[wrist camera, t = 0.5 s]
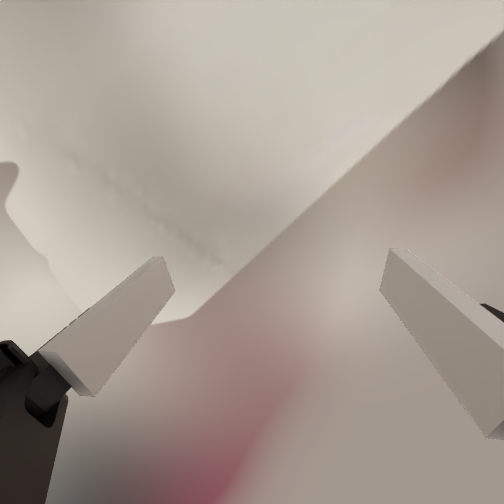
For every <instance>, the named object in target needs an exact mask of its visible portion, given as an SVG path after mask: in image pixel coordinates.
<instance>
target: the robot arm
mask: <svg viewBox="0 0 504 504" xmlns="http://www.w3.org/2000/svg"><path fill="white" fill-rule="evenodd" d="M174 292H175V288H174V285H173V283H172V280H171V277H170V274H169V272H168V269H167V266H166V263H165V261H164V258H163V257H152V258H151V259H149V260H148V261H147V262H146V263H145V264H143V265H142V266H141V267H140V268H138V269H137V270H136V271H135V272H134V273H132V274H131V275H130V276H129V277H127V278H126V279H125V280H124V281H123V282H121V283H120V284H119V285H118V286H116V287H115V288H114V289H113V290H112V291H110V292H109V293H108V294H107V295H105V296H104V297H103V298H102V299H101V300H99V301H98V302H97V303H96V304H94V305H93V306H92V307H91V308H89V309H87V310H86V311H85V312H84V313H82V314H81V315H80V316H79V317H78V318H77V319H75V320H74V321H73V322H71V323H70V324H69V326H67V327H65V328H64V329H63V330H62V331H60V333H58V334H57V335H55V336H54V337H53V338H52V339H51V340H49V341H48V342H47V343H46V344H44V345H43V346H42V347H41V348H40V349H38V350H37V351H36V352H35V353H33V354H32V355H31V356H29V357H28V356H27V355H26V354H25V353H24V352H23V351H22V350H21V349H20V348H19V347H18V346H17V345H16V344H15V343H14V342H13V341H11V340H7V341H2V342H0V504H45V501H46V497H47V492H48V488H49V483H50V479H51V475H52V470H53V466H54V462H55V457H56V453H57V448H58V444H59V439H60V435H61V431H62V426H63V422H64V417H65V413H66V409H67V404H68V396H67V395H66V394H65V393H66V392H67V391H68V390H69V389H70V388H71V387H72V388H73V389H74V390H75V391H76V392H77V394H79V395H80V396H90V397H96V395H97V394H98V393H99V391H100V390H101V389H102V387H103V386H104V385H105V384H106V382H107V381H108V380H109V378H110V377H111V376H112V374H113V373H114V372H115V370H116V369H117V368H118V366H119V365H120V364H121V362H122V361H123V360H124V358H125V357H126V356H127V354H128V353H129V352H130V350H131V349H132V348H133V347H134V345H135V344H136V343H137V341H138V340H139V339H140V337H141V336H142V335H143V333H144V332H145V331H146V329H147V328H148V327H149V325H150V324H151V323H152V321H153V320H154V319H155V317H156V316H157V315H158V313H159V312H160V311H161V310H162V308H163V307H164V306H165V304H166V303H167V302H168V300H169V299H170V298H171V296H172V295H173V294H174ZM380 292H381V293H382V295H383V296H384V297H385V299H386V300H387V301H388V303H389V304H390V305H391V307H392V308H393V310H394V311H395V313H396V314H397V315H398V317H399V318H400V320H401V321H402V322H403V324H404V325H405V327H406V328H407V329H408V331H409V332H410V333H411V335H412V336H413V337H414V339H415V340H416V342H417V343H418V344H419V346H420V347H421V349H422V350H423V352H424V353H425V354H426V356H427V357H428V359H429V360H430V361H431V363H432V364H433V365H434V367H435V368H436V370H437V371H438V372H439V374H440V375H441V377H442V378H443V379H444V381H445V382H446V383H447V385H448V386H449V388H450V389H451V390H452V392H453V393H454V395H455V396H456V397H457V399H458V400H459V402H460V403H461V404H462V406H463V407H464V409H465V410H466V411H467V412H468V414H469V415H470V417H471V418H472V420H473V421H474V422H475V424H476V425H477V427H478V428H479V429H480V431H481V432H482V434H483V435H484V436H485V438H491V439H499V440H504V313H503V312H501V311H499V310H497V309H495V308H493V307H491V306H489V305H486V304H479V303H477V302H476V301H475V300H473V299H472V298H471V297H469V296H468V295H467V294H466V293H464V292H463V291H461V290H460V289H459V288H458V287H456V286H455V285H453V284H452V283H451V282H450V281H448V280H447V279H446V278H445V277H443V276H442V275H441V274H439V273H438V272H437V271H435V270H434V269H433V268H431V267H430V266H429V265H427V264H426V263H425V262H423V261H422V260H421V259H420V258H418V257H417V256H415V255H414V254H413V253H412V252H410V251H409V250H408V249H406V248H391V249H389V252H388V257H387V261H386V265H385V269H384V273H383V277H382V282H381V286H380Z"/></svg>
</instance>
